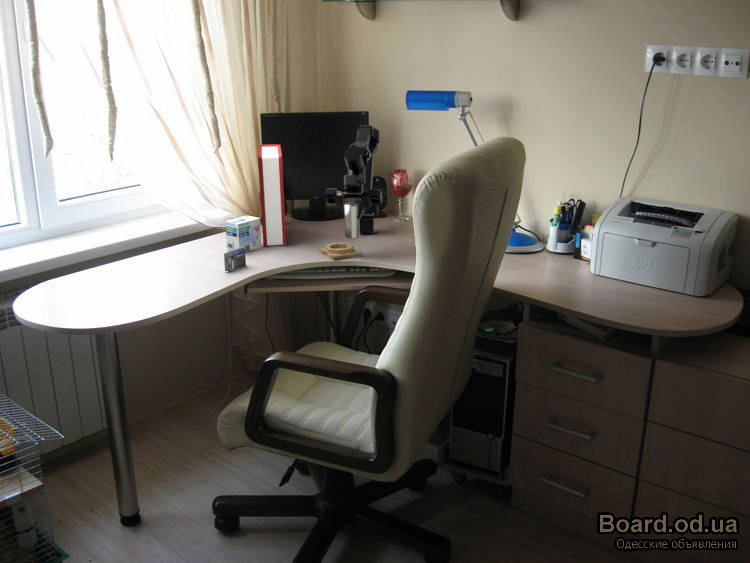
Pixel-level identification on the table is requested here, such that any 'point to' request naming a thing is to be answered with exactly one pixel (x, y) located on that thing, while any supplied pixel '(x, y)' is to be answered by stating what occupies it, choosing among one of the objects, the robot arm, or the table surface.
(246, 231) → the light bulb box
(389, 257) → the table surface
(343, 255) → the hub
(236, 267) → the mini dv tape
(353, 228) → the shaft
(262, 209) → the book
